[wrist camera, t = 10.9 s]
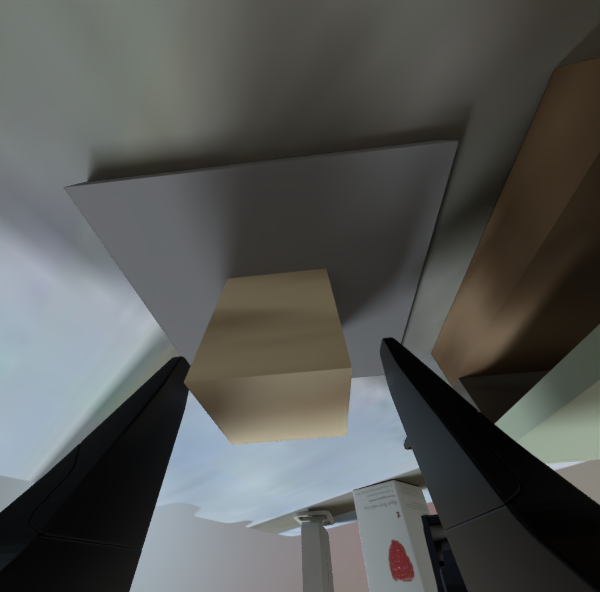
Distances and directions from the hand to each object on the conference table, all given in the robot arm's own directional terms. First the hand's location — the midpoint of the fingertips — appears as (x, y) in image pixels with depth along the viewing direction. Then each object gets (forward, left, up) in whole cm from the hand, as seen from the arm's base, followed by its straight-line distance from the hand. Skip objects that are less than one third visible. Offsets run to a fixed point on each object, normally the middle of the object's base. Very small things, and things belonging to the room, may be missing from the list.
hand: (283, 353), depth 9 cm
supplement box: (-45, -12, -4) cm, 47 cm away
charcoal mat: (0, 0, -4) cm, 4 cm away
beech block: (0, 0, -2) cm, 3 cm away
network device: (-72, +2, -4) cm, 72 cm away
